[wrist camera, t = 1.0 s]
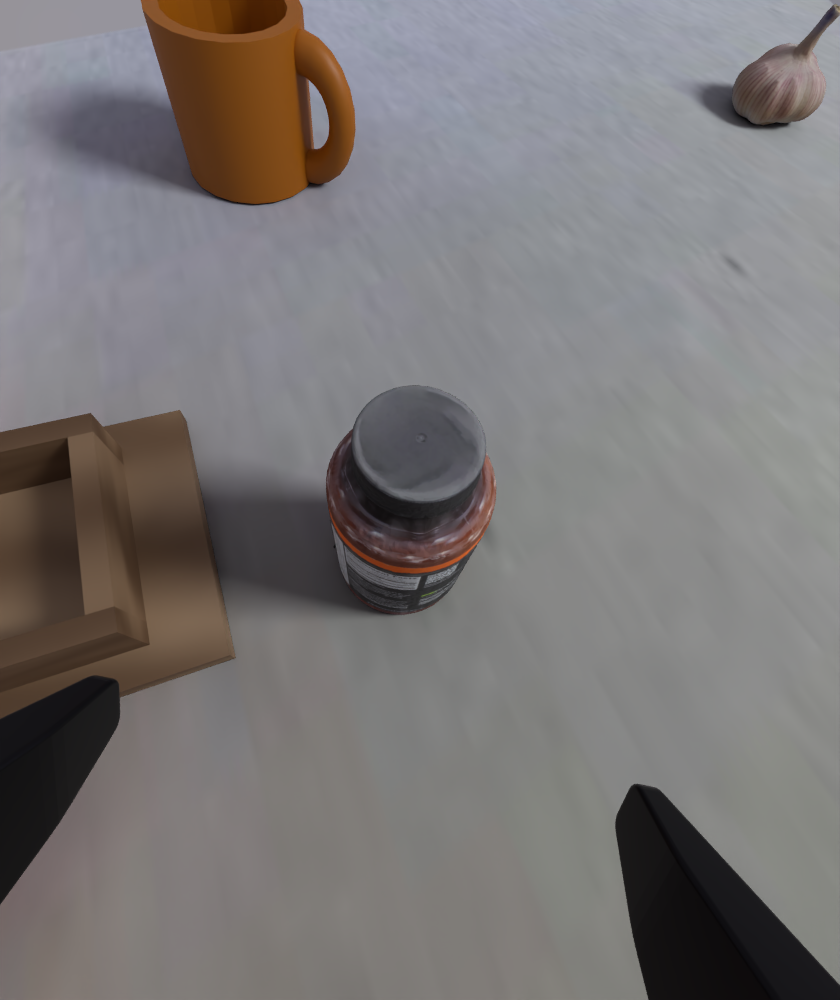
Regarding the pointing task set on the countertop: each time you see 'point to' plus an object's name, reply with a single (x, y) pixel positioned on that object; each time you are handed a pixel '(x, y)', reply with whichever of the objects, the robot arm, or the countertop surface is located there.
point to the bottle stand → (104, 558)
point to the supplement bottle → (409, 497)
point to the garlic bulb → (783, 81)
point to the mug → (250, 95)
